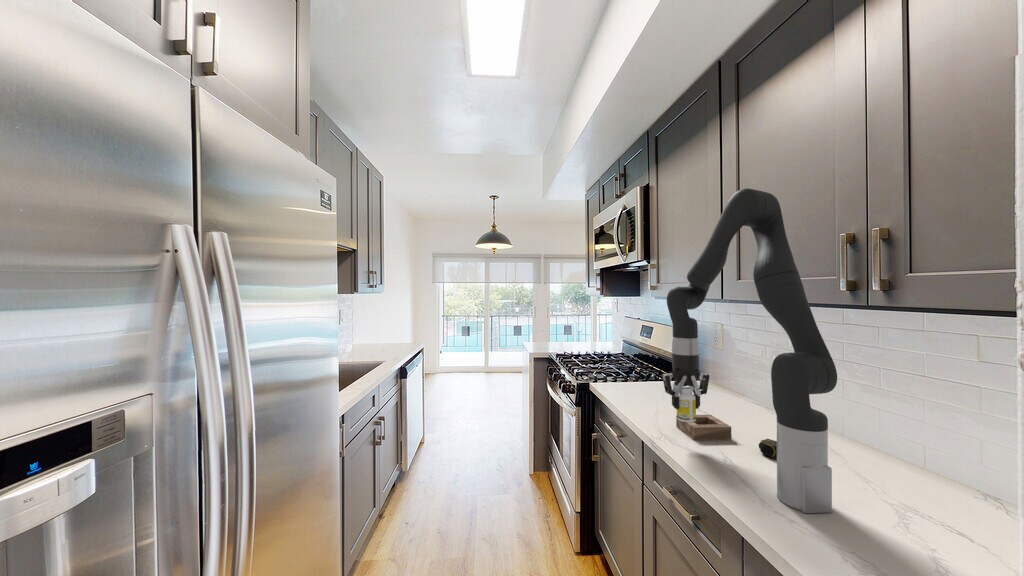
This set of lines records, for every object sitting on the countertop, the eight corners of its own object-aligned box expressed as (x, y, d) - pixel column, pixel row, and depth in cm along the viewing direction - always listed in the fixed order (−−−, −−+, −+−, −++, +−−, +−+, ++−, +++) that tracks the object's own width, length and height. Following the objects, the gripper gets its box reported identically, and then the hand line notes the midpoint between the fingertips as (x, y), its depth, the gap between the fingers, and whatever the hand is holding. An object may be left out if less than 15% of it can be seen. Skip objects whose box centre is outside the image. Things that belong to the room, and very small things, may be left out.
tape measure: (793, 458, 112) (793, 444, 112) (779, 463, 109) (779, 449, 109) (767, 449, 118) (767, 436, 118) (754, 453, 115) (754, 440, 115)
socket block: (731, 439, 125) (731, 426, 125) (694, 440, 124) (693, 427, 124) (710, 426, 137) (710, 414, 137) (676, 426, 136) (676, 415, 136)
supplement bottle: (690, 416, 124) (689, 385, 124) (699, 422, 118) (699, 389, 119) (673, 417, 123) (672, 385, 124) (682, 422, 118) (681, 389, 118)
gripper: (667, 354, 117) (668, 412, 117) (715, 353, 118) (716, 411, 118) (657, 350, 125) (657, 405, 124) (701, 350, 125) (702, 404, 125)
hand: (686, 407), depth 121 cm, fingers closed on supplement bottle, 5 cm apart
